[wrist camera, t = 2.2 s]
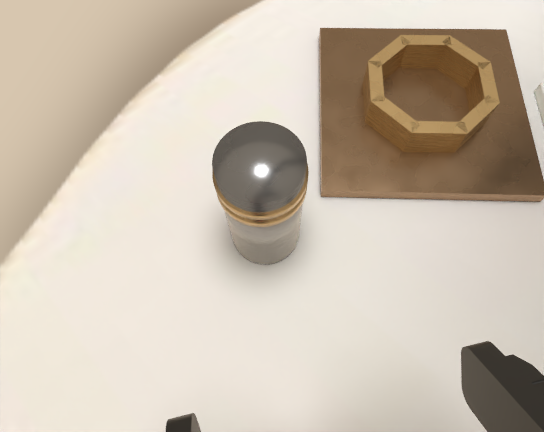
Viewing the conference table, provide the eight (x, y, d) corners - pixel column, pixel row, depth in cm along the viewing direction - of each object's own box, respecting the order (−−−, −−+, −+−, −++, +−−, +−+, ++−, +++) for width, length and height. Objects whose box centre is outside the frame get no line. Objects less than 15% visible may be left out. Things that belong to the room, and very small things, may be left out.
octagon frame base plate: (500, 38, 38) (520, 4, 34) (539, 201, 31) (568, 178, 28) (319, 37, 38) (322, 3, 35) (320, 196, 32) (324, 173, 29)
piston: (301, 201, 32) (309, 120, 23) (300, 267, 30) (309, 207, 21) (233, 199, 32) (214, 118, 23) (227, 265, 30) (204, 204, 21)
